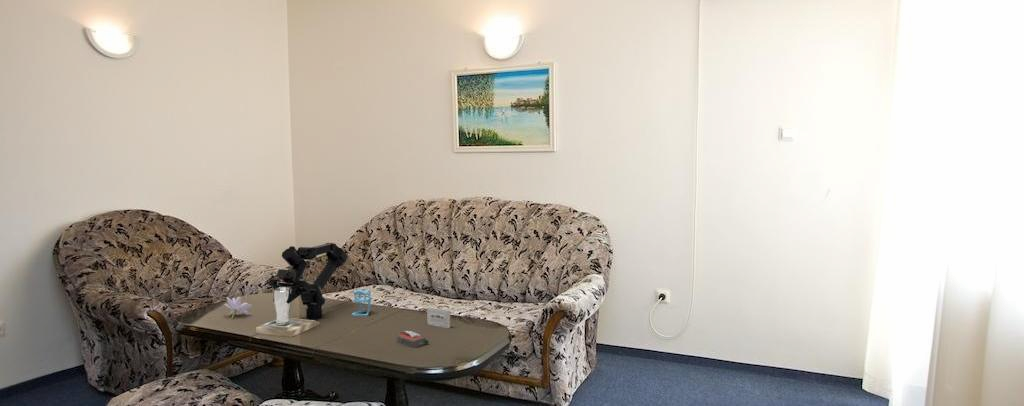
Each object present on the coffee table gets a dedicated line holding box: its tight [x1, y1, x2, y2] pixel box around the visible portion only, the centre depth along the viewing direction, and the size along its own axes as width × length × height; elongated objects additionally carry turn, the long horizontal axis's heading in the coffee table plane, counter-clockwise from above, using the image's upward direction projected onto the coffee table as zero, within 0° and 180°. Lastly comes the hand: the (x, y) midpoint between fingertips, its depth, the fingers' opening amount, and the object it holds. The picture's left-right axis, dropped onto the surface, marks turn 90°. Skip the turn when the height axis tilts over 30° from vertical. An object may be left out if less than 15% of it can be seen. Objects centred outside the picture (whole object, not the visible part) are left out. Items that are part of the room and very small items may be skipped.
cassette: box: [426, 306, 451, 329], centre depth 257 cm, size 12×2×8 cm, turn 59°
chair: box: [351, 289, 373, 317], centre depth 278 cm, size 8×8×12 cm
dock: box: [255, 317, 320, 338], centre depth 256 cm, size 18×18×4 cm
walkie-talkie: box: [396, 330, 430, 349], centre depth 238 cm, size 9×4×20 cm
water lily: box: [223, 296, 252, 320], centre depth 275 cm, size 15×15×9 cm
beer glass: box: [273, 287, 292, 325], centre depth 253 cm, size 7×7×15 cm
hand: (280, 302), depth 251 cm, fingers closed on beer glass, 7 cm apart
